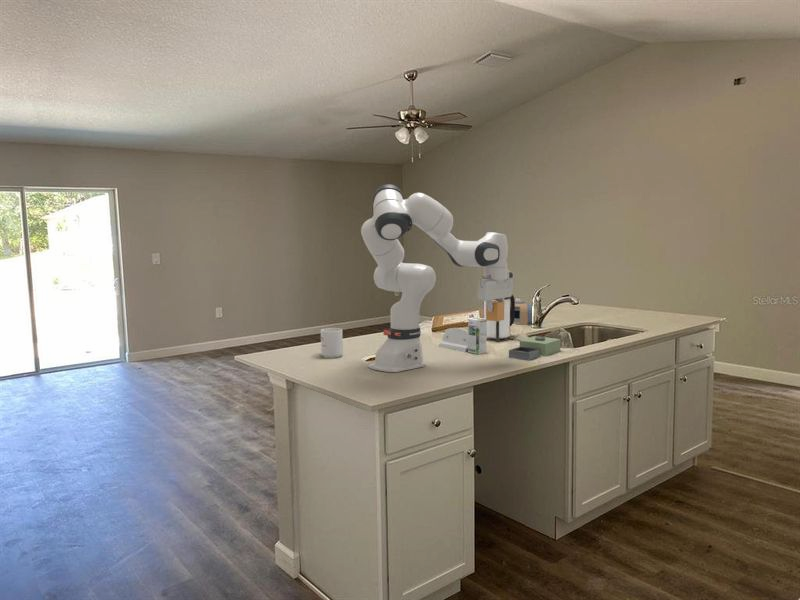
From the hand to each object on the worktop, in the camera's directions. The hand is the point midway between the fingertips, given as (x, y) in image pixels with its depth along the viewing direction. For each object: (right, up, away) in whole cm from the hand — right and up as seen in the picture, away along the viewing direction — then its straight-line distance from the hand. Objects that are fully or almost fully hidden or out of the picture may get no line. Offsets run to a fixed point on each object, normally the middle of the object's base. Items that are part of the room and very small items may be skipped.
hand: (495, 310), depth 232 cm
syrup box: (-4, -18, +22) cm, 29 cm away
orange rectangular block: (0, -4, 0) cm, 4 cm away
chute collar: (+14, -19, +12) cm, 26 cm away
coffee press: (+9, -14, +51) cm, 54 cm away
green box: (+22, -18, +22) cm, 36 cm away
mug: (-66, -19, +19) cm, 71 cm away
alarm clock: (+28, -9, +96) cm, 101 cm away
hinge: (-11, -17, +31) cm, 37 cm away
